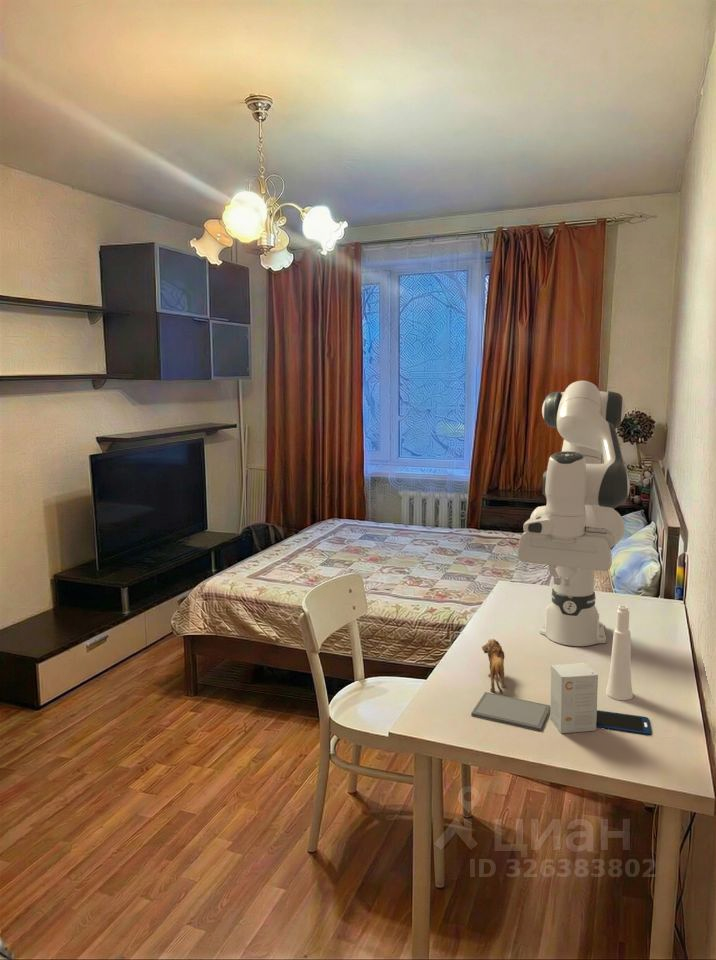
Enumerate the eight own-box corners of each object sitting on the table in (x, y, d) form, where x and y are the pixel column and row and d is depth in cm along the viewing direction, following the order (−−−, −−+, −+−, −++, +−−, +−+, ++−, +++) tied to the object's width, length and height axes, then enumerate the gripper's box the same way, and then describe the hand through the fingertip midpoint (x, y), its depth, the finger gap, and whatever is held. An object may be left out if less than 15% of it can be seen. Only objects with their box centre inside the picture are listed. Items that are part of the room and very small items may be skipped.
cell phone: (651, 737, 139) (652, 734, 138) (582, 727, 143) (582, 724, 143) (648, 720, 145) (649, 717, 145) (582, 711, 150) (583, 707, 150)
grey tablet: (485, 694, 158) (485, 691, 158) (550, 708, 151) (550, 705, 151) (471, 715, 148) (471, 712, 148) (540, 731, 141) (540, 728, 141)
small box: (583, 716, 147) (585, 661, 145) (596, 731, 141) (599, 674, 139) (549, 719, 146) (550, 664, 144) (560, 734, 140) (562, 677, 138)
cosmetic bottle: (623, 687, 160) (627, 601, 157) (638, 699, 154) (642, 610, 151) (600, 689, 159) (604, 603, 156) (614, 701, 153) (618, 612, 150)
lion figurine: (480, 669, 172) (480, 636, 170) (500, 668, 172) (501, 636, 170) (492, 696, 157) (492, 660, 156) (514, 695, 157) (514, 660, 156)
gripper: (616, 526, 144) (613, 586, 146) (522, 518, 153) (521, 575, 155) (612, 532, 138) (610, 595, 140) (516, 524, 147) (515, 583, 150)
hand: (562, 584), depth 148 cm, fingers closed
